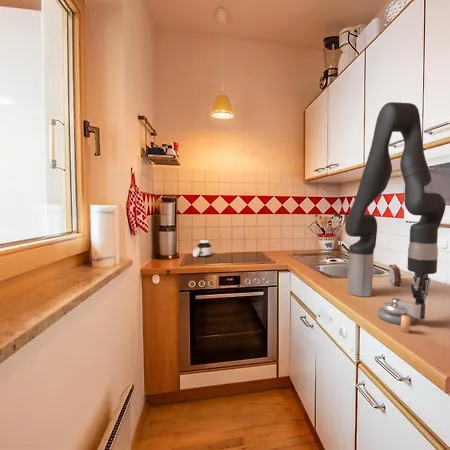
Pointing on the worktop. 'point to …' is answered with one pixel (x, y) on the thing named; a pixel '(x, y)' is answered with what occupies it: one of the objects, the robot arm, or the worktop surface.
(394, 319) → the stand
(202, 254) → the spread jar
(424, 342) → the worktop surface
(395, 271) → the tin
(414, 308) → the dial
